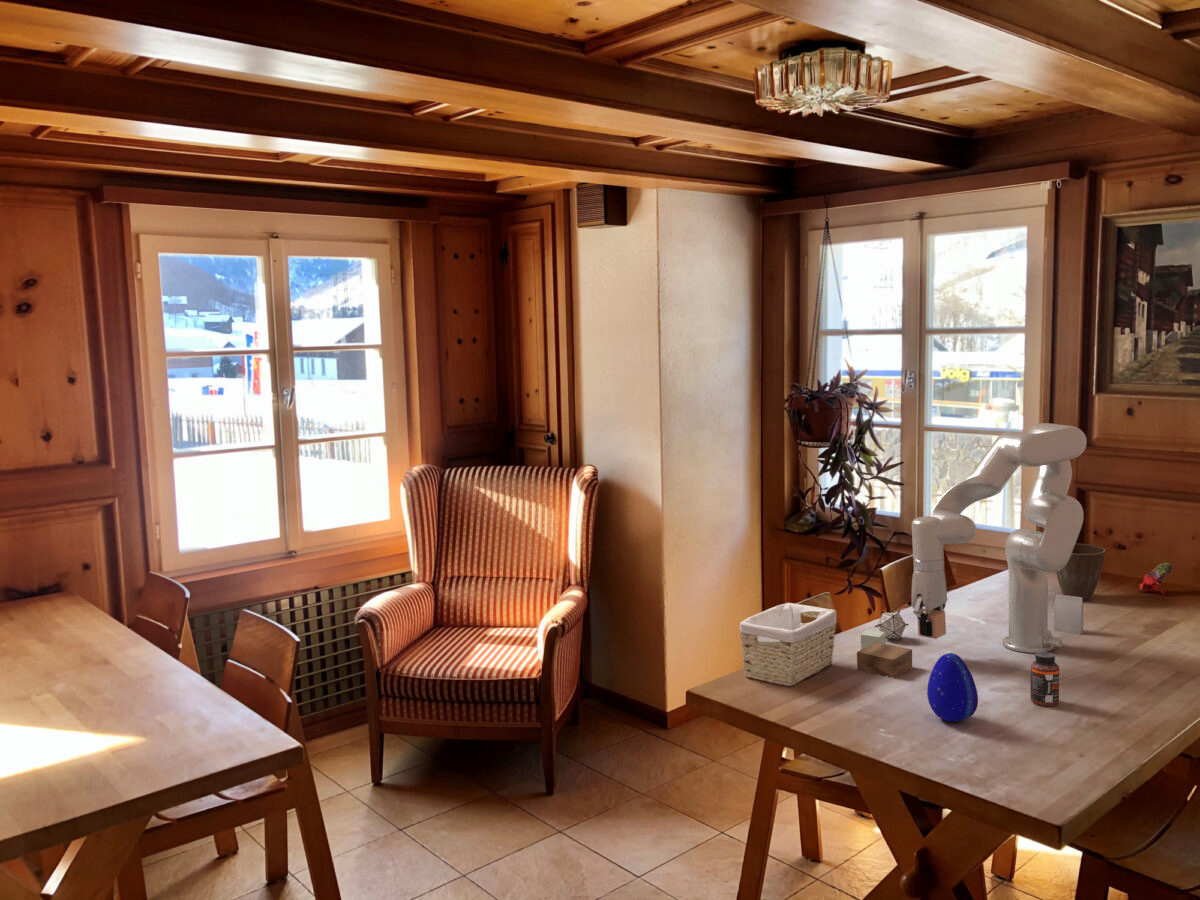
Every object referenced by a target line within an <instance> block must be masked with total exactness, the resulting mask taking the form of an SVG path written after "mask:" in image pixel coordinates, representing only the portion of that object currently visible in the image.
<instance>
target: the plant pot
mask: <svg viewBox="0 0 1200 900" xmlns="http://www.w3.org/2000/svg"><path fill="white" fill-rule="evenodd" d="M1105 555H1106V549H1105V548H1103V547H1102V546H1099V545H1096V544H1095V545H1094V544H1089V543H1088V544H1086V543H1075V546H1074V548H1073V551H1072V554H1071V556H1070V559H1069V561H1068V562H1067V564H1066V565H1065V567H1064V568H1063V569H1061V570H1060V571H1058V572H1055V574H1056V578H1057V581H1058V583H1059V584H1058V585H1059V587H1060V590H1061V593H1062V595H1065V596H1074V597H1082V599H1083V603H1084V602H1089V601H1091V599H1092V598H1093V595H1094V593H1095V591H1096V588H1097V585H1098V582H1099V580H1100V577H1101V574H1102V570H1103V566H1104V562H1105V561H1104V560H1105Z"/></svg>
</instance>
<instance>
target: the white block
mask: <svg viewBox="0 0 1200 900" xmlns="http://www.w3.org/2000/svg"><path fill="white" fill-rule="evenodd" d="M1053 615H1054V616H1053V632H1059V633H1065V634H1066V633H1067V634H1073V635H1074V634H1075V635H1081V634H1082V633H1083V632H1084V602H1083V599H1082V597H1074V596H1065V595H1063V594H1055V600H1054V610H1053Z"/></svg>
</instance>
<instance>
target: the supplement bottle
mask: <svg viewBox="0 0 1200 900" xmlns="http://www.w3.org/2000/svg"><path fill="white" fill-rule="evenodd" d="M1034 657H1035V660H1034V661H1033V662H1031V665H1030V693H1029V695H1030V701H1031V702H1032V703H1033V704H1035V705H1038V706H1042V707H1054V706H1057V705H1058V704H1059V702H1060V666H1059V665H1058V663H1056V662H1055V661H1056V656H1055V654H1054V653H1052V652H1050V651H1048V652H1037V653H1035V656H1034Z"/></svg>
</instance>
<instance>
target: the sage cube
mask: <svg viewBox="0 0 1200 900" xmlns="http://www.w3.org/2000/svg"><path fill="white" fill-rule="evenodd" d="M876 642H877V643H882V644H886V639H885V632H881V631H880V630H871V629H866V630H865V631H863V632H862V633H861V634H860V650H862V649H864V648H866V647H868V646H870V645H872V644H874V643H876Z"/></svg>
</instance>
